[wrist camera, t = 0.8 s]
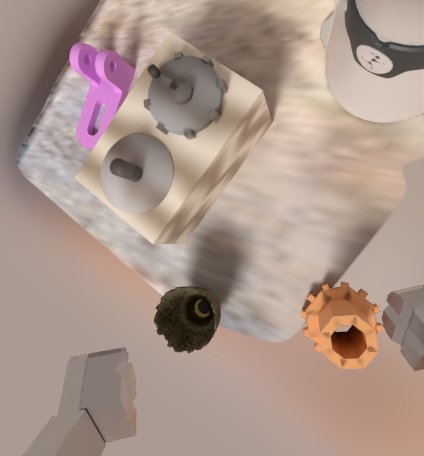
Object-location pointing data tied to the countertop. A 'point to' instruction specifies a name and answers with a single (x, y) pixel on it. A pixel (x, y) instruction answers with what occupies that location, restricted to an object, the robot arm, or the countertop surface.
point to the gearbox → (175, 142)
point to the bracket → (100, 88)
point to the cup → (187, 318)
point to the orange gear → (338, 316)
